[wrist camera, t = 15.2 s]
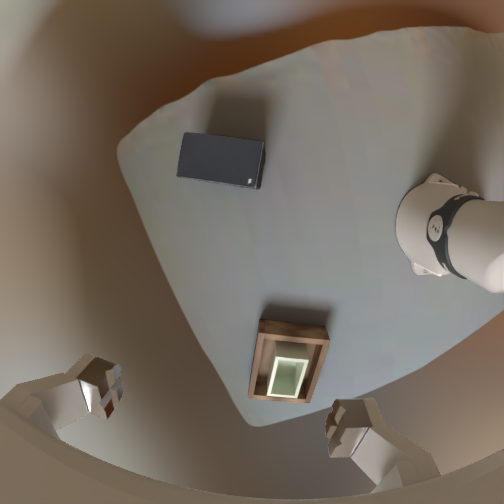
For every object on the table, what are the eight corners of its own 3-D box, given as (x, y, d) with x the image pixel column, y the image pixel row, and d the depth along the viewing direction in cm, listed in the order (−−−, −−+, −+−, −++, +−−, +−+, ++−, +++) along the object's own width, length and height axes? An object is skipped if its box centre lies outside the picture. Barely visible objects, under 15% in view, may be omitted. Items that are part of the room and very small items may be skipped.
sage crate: (305, 341, 48) (308, 359, 42) (294, 378, 50) (296, 398, 44) (275, 337, 48) (275, 356, 42) (267, 375, 50) (266, 395, 44)
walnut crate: (324, 326, 48) (329, 340, 43) (307, 387, 52) (309, 403, 47) (259, 318, 48) (258, 332, 44) (249, 381, 52) (247, 397, 47)
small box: (266, 150, 42) (266, 139, 32) (260, 190, 43) (257, 190, 33) (202, 141, 42) (183, 129, 32) (196, 180, 44) (174, 179, 33)
